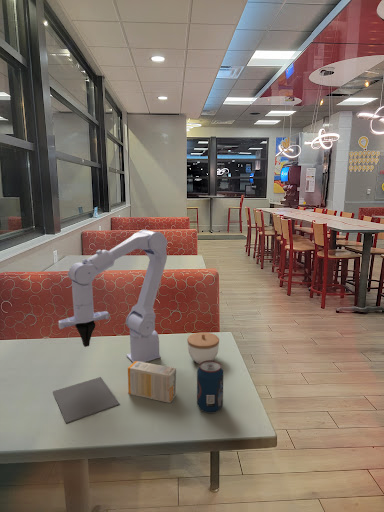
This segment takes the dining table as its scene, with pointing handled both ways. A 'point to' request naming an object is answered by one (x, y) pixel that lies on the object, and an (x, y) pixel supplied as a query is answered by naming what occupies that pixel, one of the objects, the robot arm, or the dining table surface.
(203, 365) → the soda can
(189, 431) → the dining table surface
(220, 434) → the dining table surface
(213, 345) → the lidded jar
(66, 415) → the mat
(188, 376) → the dining table surface
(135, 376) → the supplement box
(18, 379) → the dining table surface
